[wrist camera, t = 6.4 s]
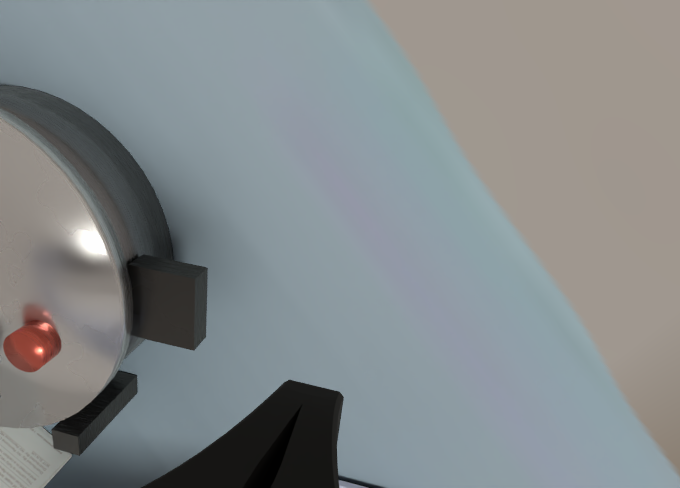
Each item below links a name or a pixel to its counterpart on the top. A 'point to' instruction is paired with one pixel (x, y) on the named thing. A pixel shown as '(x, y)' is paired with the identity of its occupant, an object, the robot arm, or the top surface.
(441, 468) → the top surface
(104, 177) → the cooker pot
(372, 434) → the top surface
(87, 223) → the cooker lid
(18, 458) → the supplement box
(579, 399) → the top surface
